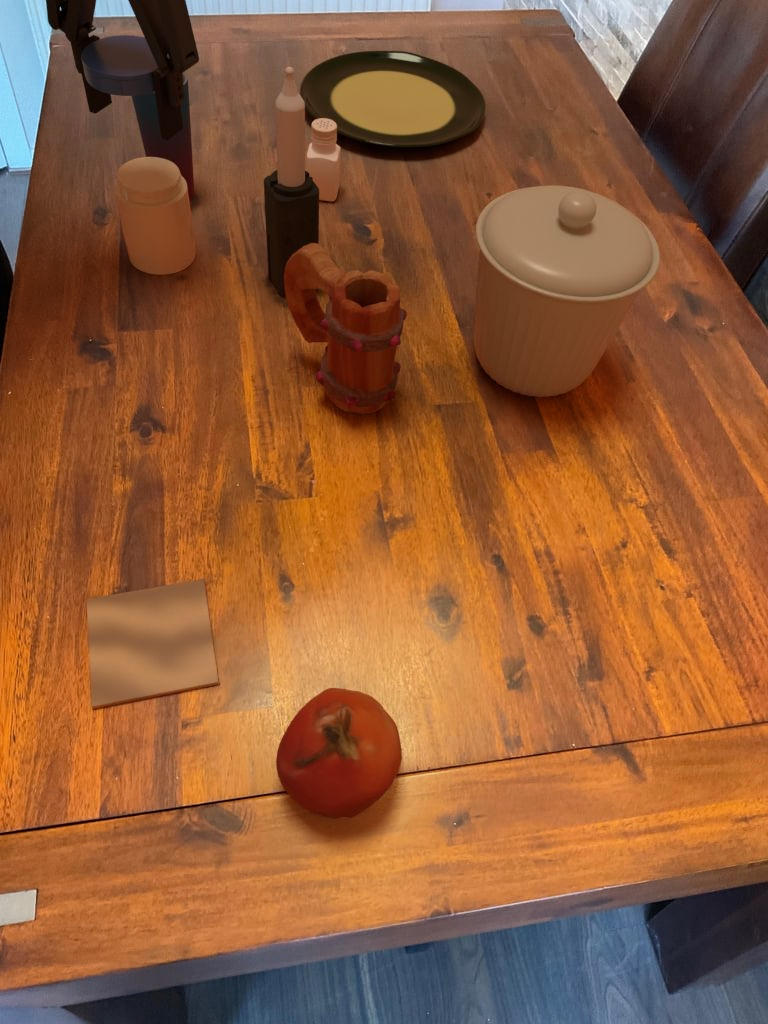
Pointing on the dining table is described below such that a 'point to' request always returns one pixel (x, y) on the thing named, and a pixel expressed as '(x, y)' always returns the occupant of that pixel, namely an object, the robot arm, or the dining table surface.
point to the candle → (289, 187)
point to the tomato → (339, 754)
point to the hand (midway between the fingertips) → (136, 120)
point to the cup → (173, 148)
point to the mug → (348, 327)
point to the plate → (393, 98)
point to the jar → (155, 215)
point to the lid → (120, 65)
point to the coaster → (150, 643)
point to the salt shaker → (324, 158)
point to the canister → (555, 284)
